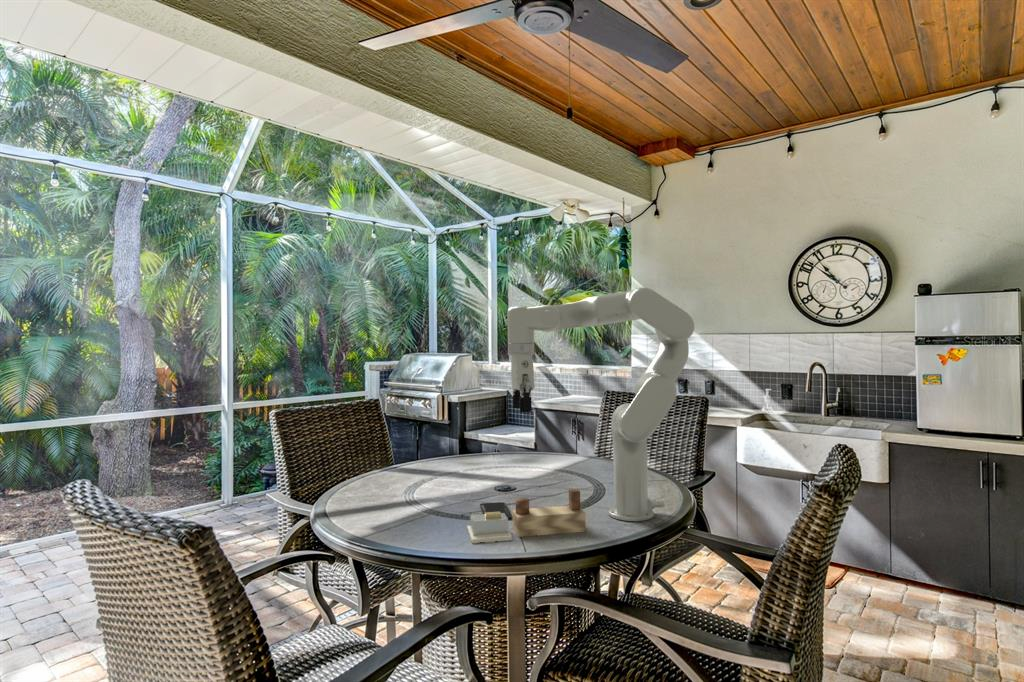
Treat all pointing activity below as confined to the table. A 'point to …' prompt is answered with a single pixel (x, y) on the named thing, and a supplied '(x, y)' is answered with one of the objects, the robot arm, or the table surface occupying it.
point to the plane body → (549, 517)
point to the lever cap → (489, 523)
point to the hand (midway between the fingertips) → (521, 409)
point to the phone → (496, 508)
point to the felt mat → (489, 537)
